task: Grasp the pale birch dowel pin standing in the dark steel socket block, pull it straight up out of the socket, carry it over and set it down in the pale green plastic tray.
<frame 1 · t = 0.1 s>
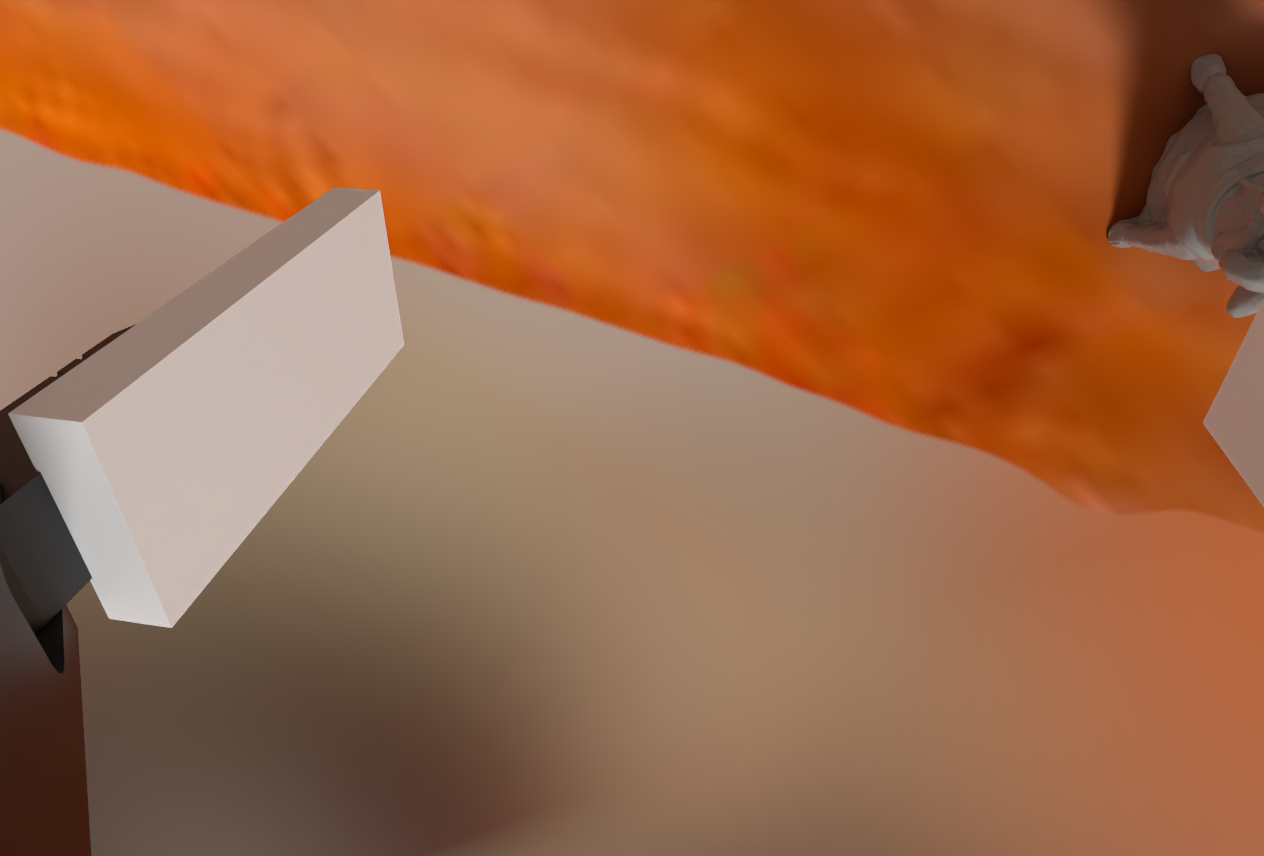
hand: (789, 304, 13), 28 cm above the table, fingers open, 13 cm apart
figurine: (1247, 173, 36), on the table
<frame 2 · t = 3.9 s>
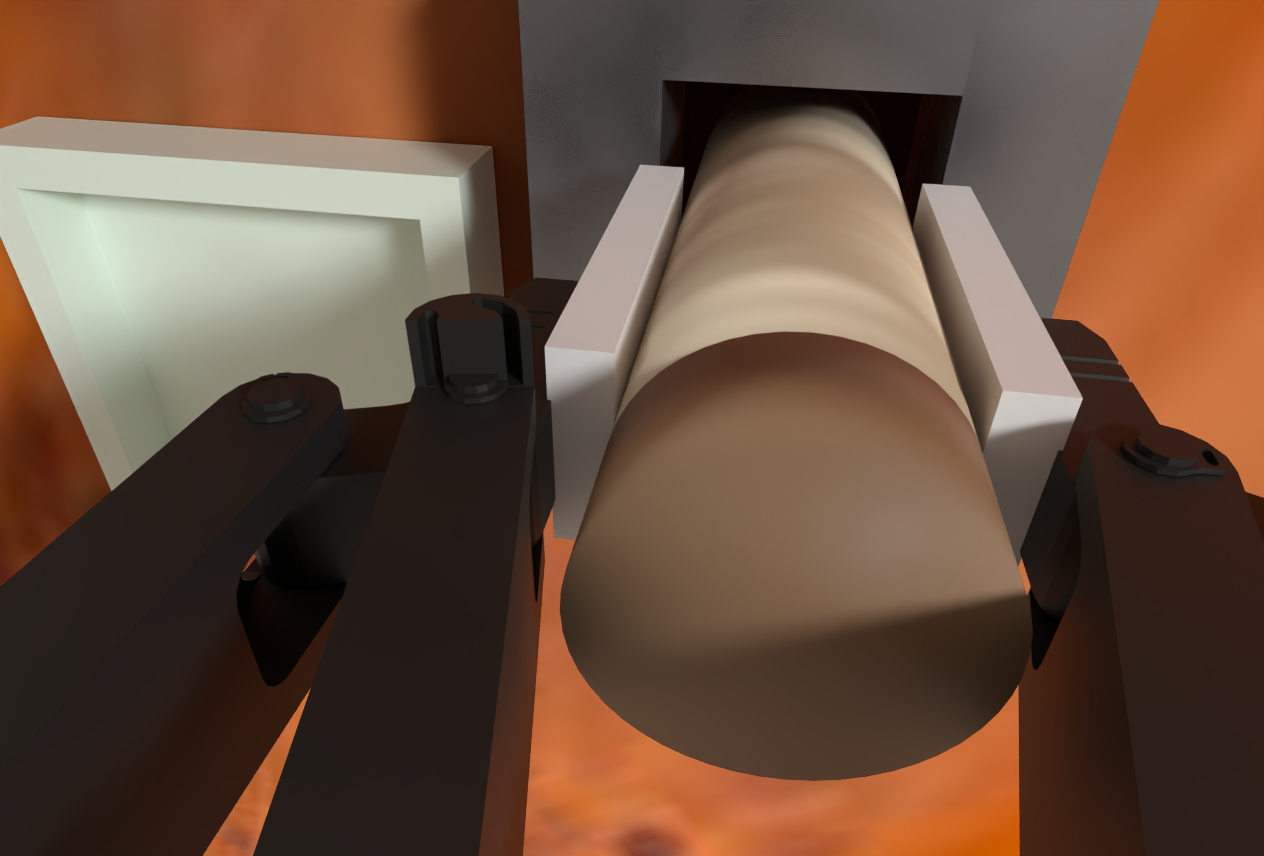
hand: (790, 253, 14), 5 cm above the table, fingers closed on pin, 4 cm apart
tray: (307, 346, 24), on the table
pin: (792, 165, 19), resting in socket block, touching gripper
socket block: (792, 165, 19), on the table
when the fingers open (7 cm above the table, at t = 10.7 s): pin stays where it is, resting on tray.
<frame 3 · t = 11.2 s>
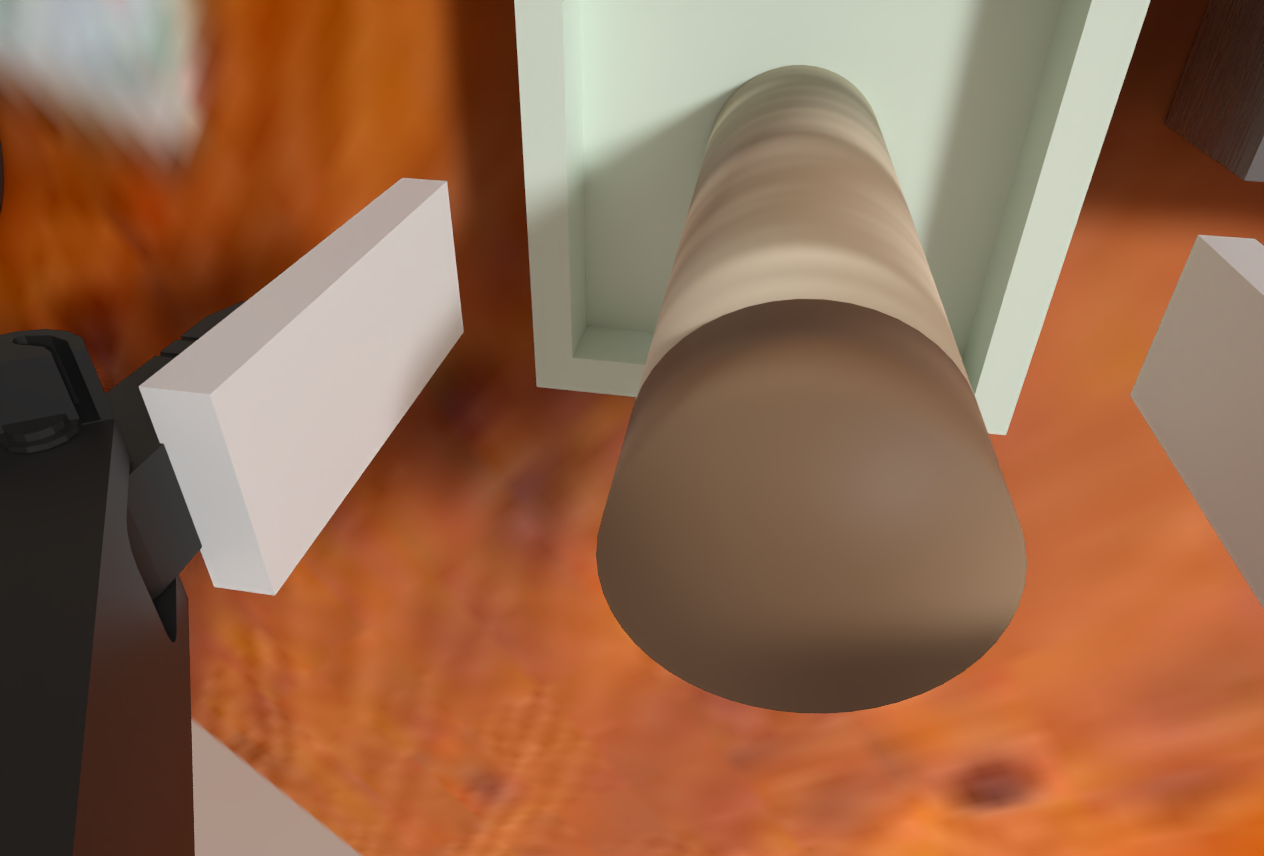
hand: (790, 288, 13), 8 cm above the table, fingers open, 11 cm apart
tray: (792, 147, 20), on the table
pin: (792, 156, 19), point 1 cm above the table, touching tray
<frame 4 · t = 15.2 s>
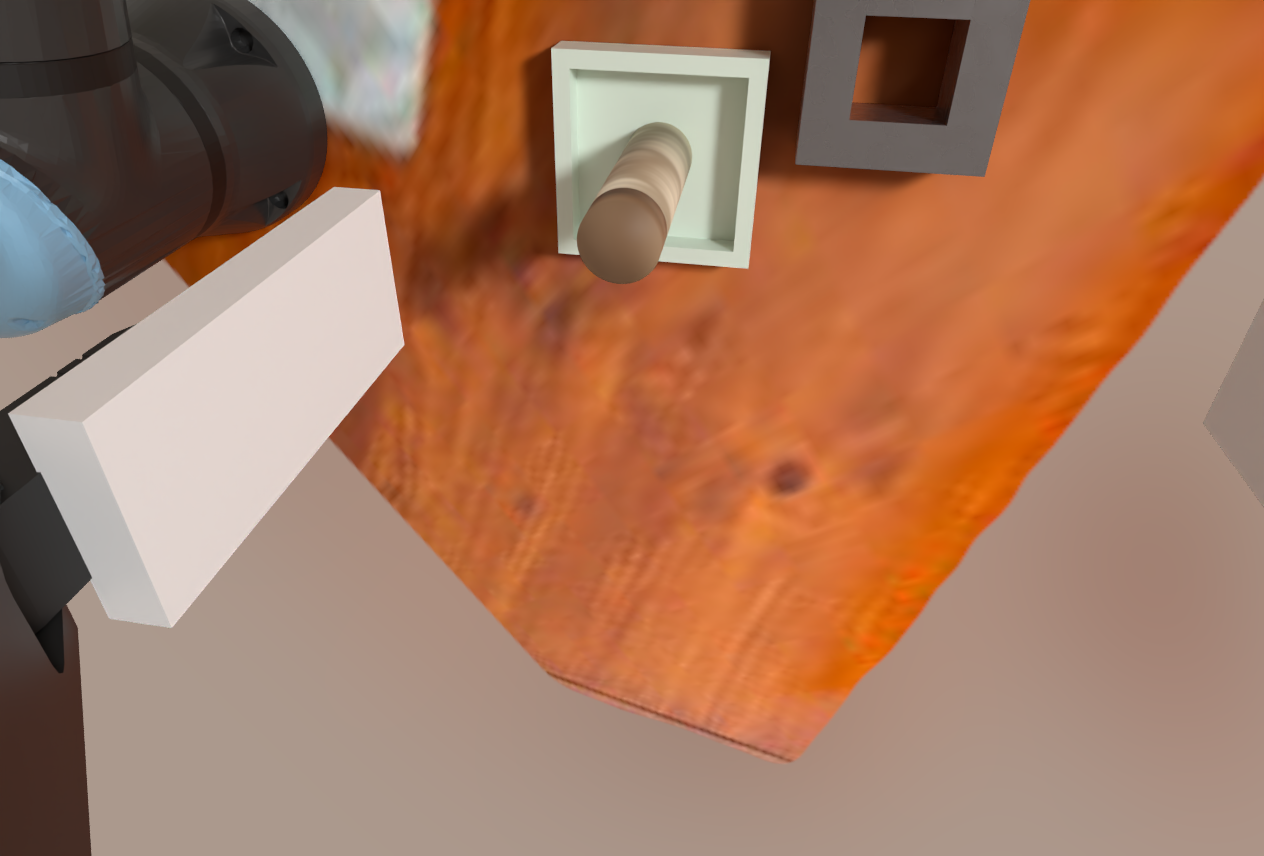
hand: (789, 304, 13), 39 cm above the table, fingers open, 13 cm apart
tray: (660, 152, 50), on the table
pin: (659, 156, 50), point 1 cm above the table, touching tray
socket block: (899, 57, 45), on the table
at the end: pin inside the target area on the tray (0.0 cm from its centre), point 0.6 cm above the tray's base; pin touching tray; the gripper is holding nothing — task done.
